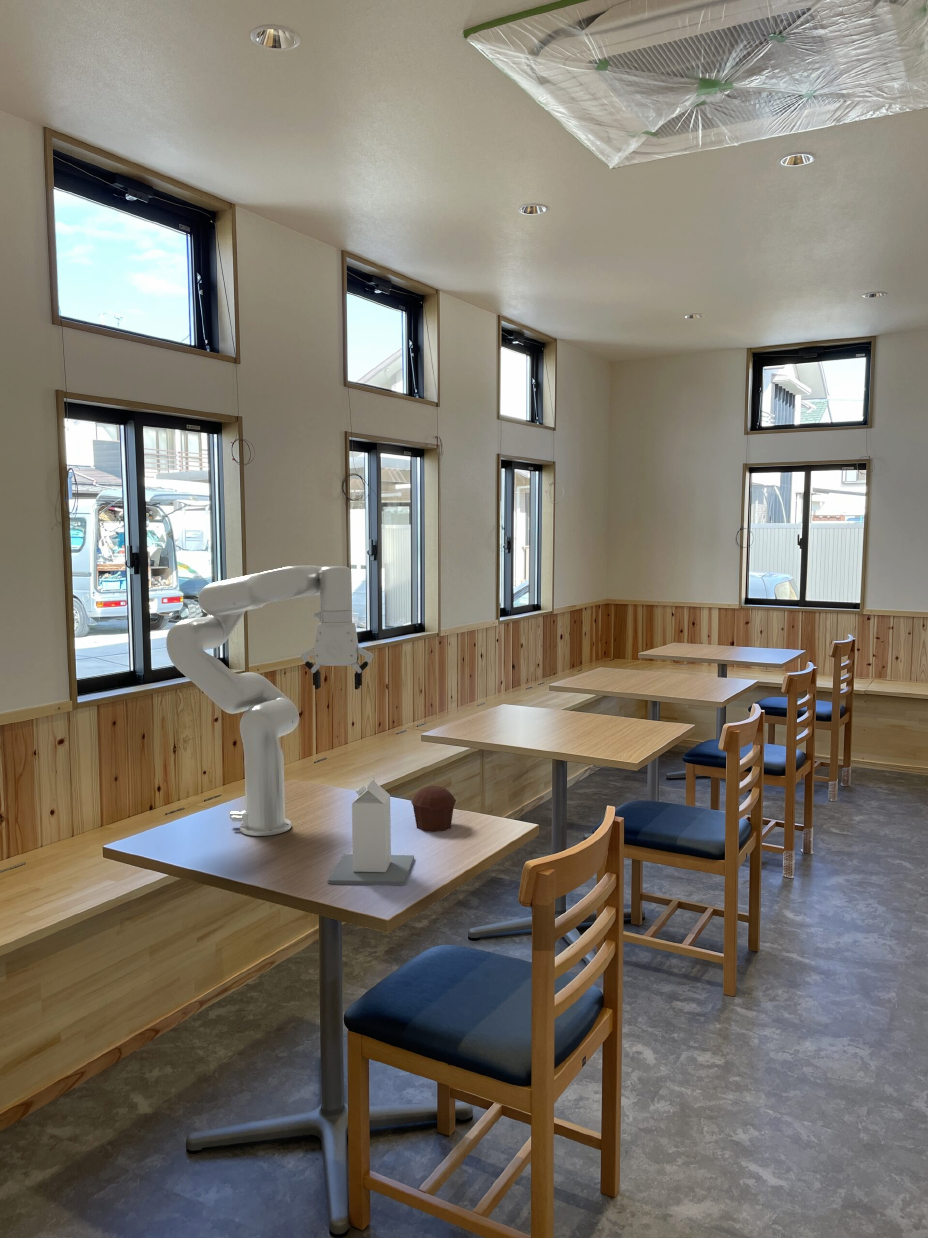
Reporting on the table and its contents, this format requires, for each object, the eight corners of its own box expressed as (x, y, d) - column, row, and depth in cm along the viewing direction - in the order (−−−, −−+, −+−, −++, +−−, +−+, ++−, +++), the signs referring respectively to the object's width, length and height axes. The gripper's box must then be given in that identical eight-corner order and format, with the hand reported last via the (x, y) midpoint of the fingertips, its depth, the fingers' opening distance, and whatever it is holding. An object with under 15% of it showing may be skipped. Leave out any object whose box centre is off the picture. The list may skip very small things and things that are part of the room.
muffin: (461, 831, 219) (461, 791, 218) (418, 835, 216) (417, 795, 215) (448, 818, 230) (448, 780, 230) (407, 822, 227) (406, 783, 227)
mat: (328, 884, 185) (328, 880, 185) (343, 857, 201) (343, 854, 201) (404, 885, 184) (404, 881, 184) (414, 858, 199) (414, 855, 199)
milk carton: (391, 861, 195) (390, 777, 194) (385, 873, 188) (384, 785, 187) (359, 861, 196) (358, 776, 195) (352, 872, 189) (351, 785, 188)
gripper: (296, 619, 209) (298, 691, 210) (369, 618, 208) (370, 691, 209) (304, 616, 216) (306, 686, 218) (374, 616, 215) (375, 686, 216)
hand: (337, 688), depth 213 cm, fingers open, 9 cm apart
